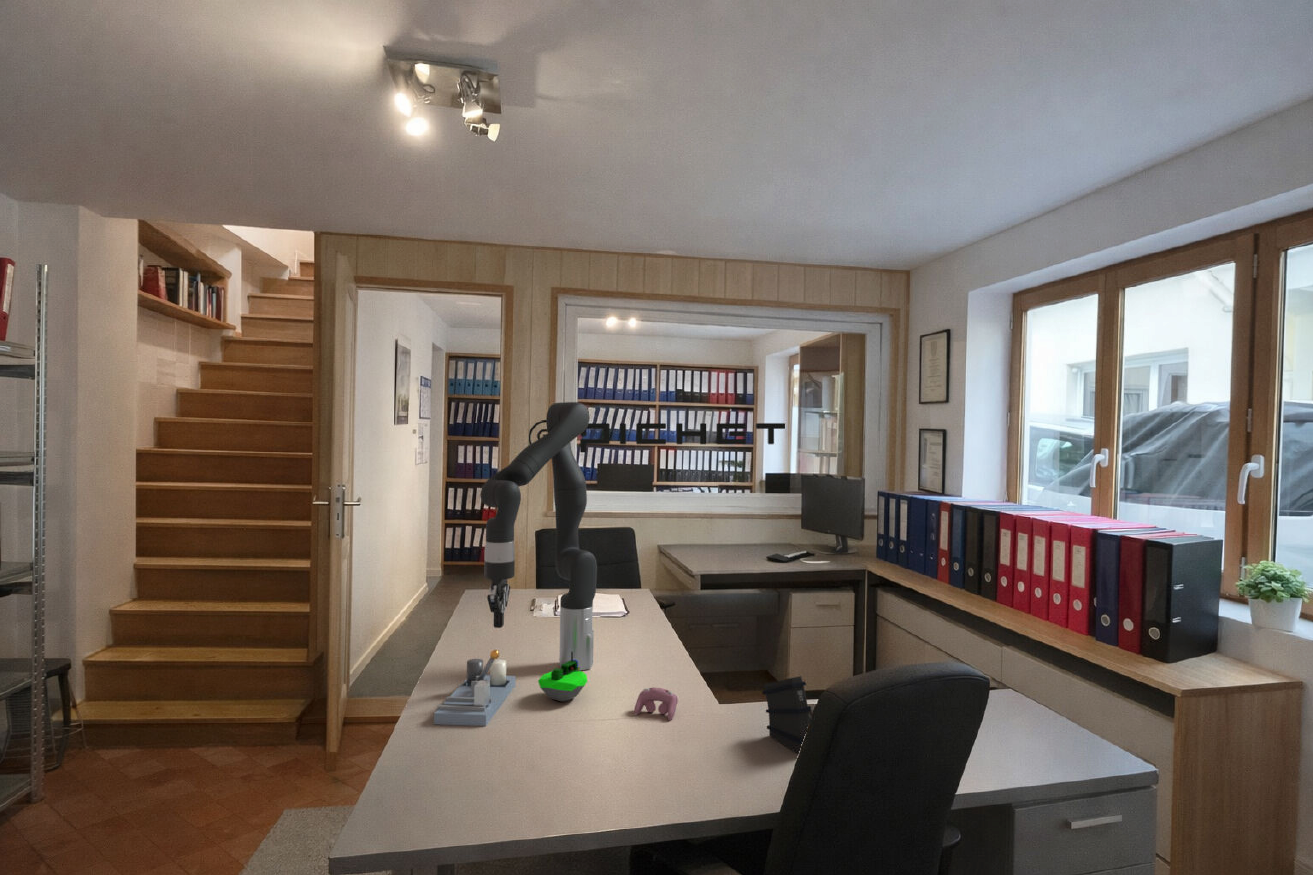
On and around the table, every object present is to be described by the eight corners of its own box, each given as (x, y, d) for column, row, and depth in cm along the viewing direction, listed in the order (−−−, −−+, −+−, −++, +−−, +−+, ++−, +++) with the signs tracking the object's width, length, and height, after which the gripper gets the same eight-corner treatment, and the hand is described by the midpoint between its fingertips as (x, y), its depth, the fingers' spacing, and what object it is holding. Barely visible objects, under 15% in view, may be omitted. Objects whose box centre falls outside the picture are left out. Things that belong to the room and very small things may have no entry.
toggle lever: (481, 686, 174) (502, 651, 174) (478, 689, 172) (499, 654, 171) (474, 681, 174) (494, 646, 174) (470, 685, 172) (491, 649, 171)
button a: (507, 679, 182) (508, 659, 182) (503, 685, 178) (503, 664, 178) (492, 679, 182) (492, 659, 182) (487, 684, 178) (488, 664, 178)
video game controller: (676, 722, 167) (681, 691, 170) (671, 720, 163) (676, 688, 166) (637, 716, 170) (642, 686, 173) (631, 714, 166) (636, 683, 169)
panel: (515, 685, 186) (515, 662, 186) (485, 726, 160) (486, 699, 160) (470, 683, 186) (470, 661, 186) (433, 724, 160) (434, 697, 160)
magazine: (808, 754, 144) (789, 678, 150) (772, 757, 155) (756, 686, 160) (823, 750, 146) (803, 675, 152) (786, 754, 157) (769, 684, 162)
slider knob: (489, 701, 167) (489, 680, 167) (484, 708, 163) (484, 686, 163) (479, 701, 167) (479, 680, 167) (474, 707, 163) (474, 686, 163)
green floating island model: (556, 688, 185) (556, 646, 185) (595, 695, 179) (595, 651, 180) (529, 703, 174) (529, 658, 174) (569, 710, 169) (569, 664, 169)
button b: (484, 679, 182) (485, 658, 182) (480, 684, 178) (480, 663, 178) (469, 678, 182) (469, 658, 182) (464, 683, 178) (464, 663, 178)
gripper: (507, 563, 173) (506, 634, 173) (520, 554, 186) (519, 620, 186) (477, 563, 173) (476, 633, 173) (492, 554, 186) (491, 619, 186)
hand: (498, 626), depth 180 cm, fingers closed
